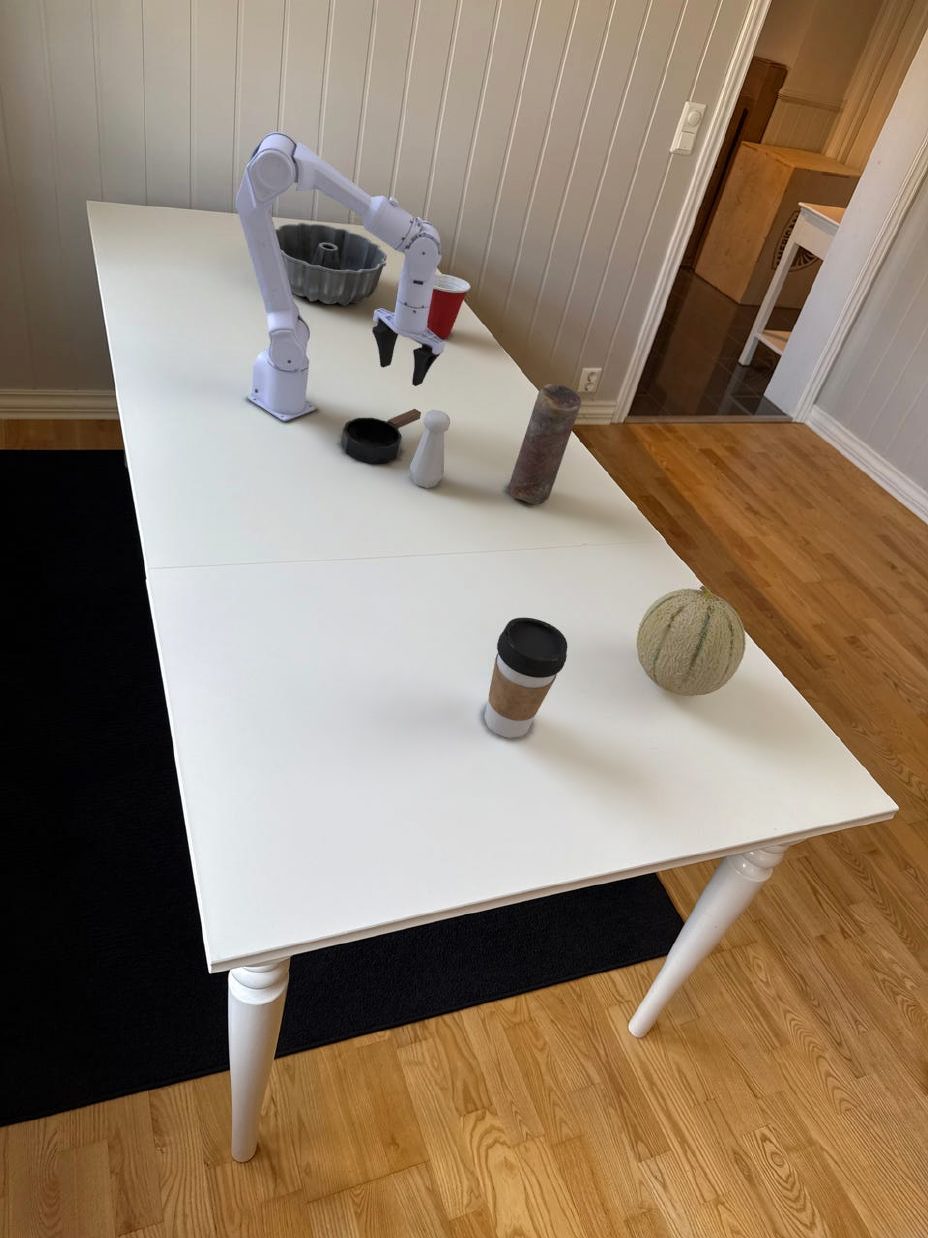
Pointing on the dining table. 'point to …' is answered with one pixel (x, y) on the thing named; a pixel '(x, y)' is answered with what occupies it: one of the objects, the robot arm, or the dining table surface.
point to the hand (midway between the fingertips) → (401, 374)
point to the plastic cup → (445, 304)
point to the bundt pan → (330, 262)
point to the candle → (544, 443)
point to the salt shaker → (430, 450)
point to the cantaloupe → (691, 642)
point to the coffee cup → (523, 674)
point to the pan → (375, 437)
